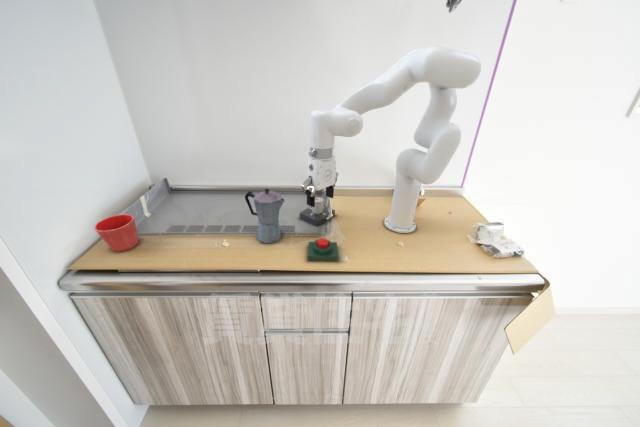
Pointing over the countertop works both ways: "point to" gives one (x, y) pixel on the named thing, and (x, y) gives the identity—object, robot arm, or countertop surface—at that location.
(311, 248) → the button block
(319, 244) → the button
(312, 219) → the stove panel
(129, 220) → the flower pot
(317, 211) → the stove knob
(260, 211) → the moka pot
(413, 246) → the countertop surface
